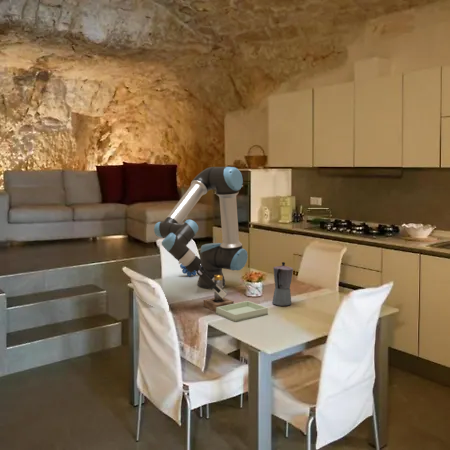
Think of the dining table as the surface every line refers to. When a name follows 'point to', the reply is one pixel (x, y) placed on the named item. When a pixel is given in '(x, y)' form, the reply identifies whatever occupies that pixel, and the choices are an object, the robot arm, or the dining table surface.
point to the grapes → (187, 271)
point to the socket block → (212, 305)
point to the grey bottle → (219, 281)
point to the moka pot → (282, 285)
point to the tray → (241, 311)
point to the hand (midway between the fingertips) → (223, 292)
